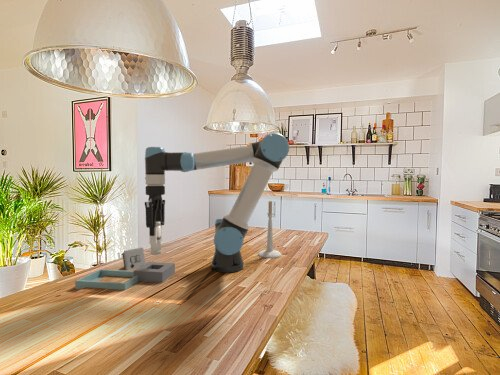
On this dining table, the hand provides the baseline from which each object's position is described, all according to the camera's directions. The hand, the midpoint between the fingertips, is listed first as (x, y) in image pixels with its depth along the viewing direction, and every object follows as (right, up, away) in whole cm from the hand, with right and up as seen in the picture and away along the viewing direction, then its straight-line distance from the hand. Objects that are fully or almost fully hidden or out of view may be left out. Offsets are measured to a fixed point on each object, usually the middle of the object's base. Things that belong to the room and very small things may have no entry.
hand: (155, 242), depth 117 cm
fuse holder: (0, -15, 0) cm, 15 cm away
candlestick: (+49, -15, +40) cm, 65 cm away
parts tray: (-15, -15, -6) cm, 22 cm away
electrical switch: (-15, -15, +13) cm, 25 cm away
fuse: (0, -5, 0) cm, 5 cm away
